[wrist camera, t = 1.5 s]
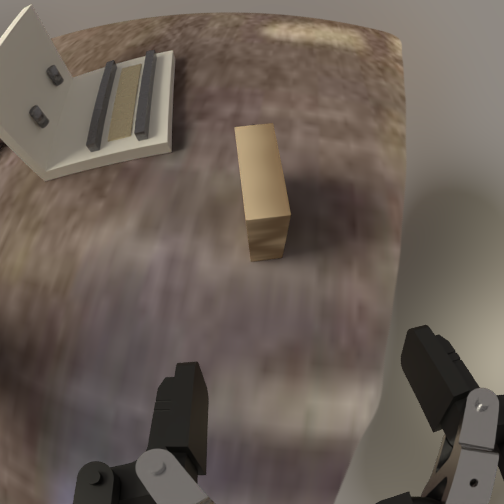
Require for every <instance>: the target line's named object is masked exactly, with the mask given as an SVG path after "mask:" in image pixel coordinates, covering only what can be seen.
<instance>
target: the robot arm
mask: <svg viewBox="0 0 504 504" xmlns="http://www.w3.org/2000/svg"><path fill="white" fill-rule="evenodd" d="M401 366H402V369H403V371H404V373H405V375H406V377H407V379H408V381H409V383H410V385H411V387H412V389H413V391H414V393H415V395H416V397H417V399H418V401H419V403H420V405H421V408H422V410H423V412H424V414H425V416H426V418H427V420H428V422H429V424H430V427H431V428H432V431H433V432H436V431H439V430H441V429H443V430H444V433H445V435H444V436H443V439H442V442H441V446H440V449H439V453H438V456H437V459H436V462H435V466H434V469H433V472H432V475H431V477H430V479H429V481H428V483H427V485H426V486H425V488H424V490H423V492H422V495H421V497H411V496H410V493H409V492H406V493H403V494H400V495H397V496H394V497H391V498H388V499H385V500H382V501H379V502H378V503H376V504H489V502H490V498H491V494H492V490H493V485H494V481H495V476H496V471H497V466H498V467H499V469H500V472H501V475H502V477H503V479H504V395H495V393H494V392H492V391H491V390H489V389H486V388H480V387H479V386H478V384H477V383H476V381H475V380H474V378H473V376H472V375H471V373H470V372H469V370H468V369H467V367H466V366H465V364H464V363H463V361H462V360H460V357H459V355H458V354H457V353H455V350H454V348H453V347H452V346H451V344H450V342H449V341H447V340H446V339H445V338H443V337H441V336H440V335H436V336H435V335H434V333H433V332H432V330H431V329H430V328H429V327H428V326H427V325H423V326H419V327H415V328H411V329H409V330H408V331H407V335H406V339H405V343H404V347H403V350H402V354H401ZM207 427H208V391H207V387H206V384H205V381H204V378H203V375H202V372H201V369H200V366H199V363H198V362H186V363H177V365H176V371H175V377H166V378H165V379H164V380H163V382H162V383H161V385H160V386H159V388H158V391H157V396H156V402H155V407H154V413H153V419H152V425H151V430H150V436H149V443H148V447H147V450H146V452H144V453H143V454H142V455H141V456H140V457H139V458H138V460H136V461H135V462H132V463H129V464H125V465H120V466H115V467H109V466H108V465H106V464H105V463H102V462H98V461H95V462H90V463H88V464H86V465H84V466H83V467H82V468H81V470H80V471H79V473H78V477H77V482H76V488H75V494H74V500H73V504H215V503H214V502H213V501H212V500H211V499H210V498H209V497H208V496H207V495H206V494H205V493H204V491H203V490H202V489H201V488H200V487H199V486H198V485H197V477H198V475H206V458H207Z"/></svg>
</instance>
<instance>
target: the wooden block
mask: <svg viewBox="0 0 504 504" xmlns="http://www.w3.org/2000/svg"><path fill="white" fill-rule="evenodd" d="M235 135H236V143H237V152H238V160H239V168H240V177H241V185H242V193H243V201H244V210H245V218H246V226H247V234H248V242H249V250H250V259H251V262H253V261H261V260H269V259H277V258H282V256H283V251H284V247H285V242H286V237H287V232H288V227H289V222H290V217H291V213H290V207H289V202H288V196H287V191H286V186H285V180H284V175H283V170H282V165H281V160H280V155H279V150H278V145H277V140H276V135H275V131H274V126H273V123H271V124H260V125H250V126H242V127H235Z"/></svg>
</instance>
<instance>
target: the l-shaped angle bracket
mask: <svg viewBox="0 0 504 504" xmlns="http://www.w3.org/2000/svg"><path fill="white" fill-rule="evenodd" d="M174 74H175V57H174V53H173V50H172V51H167V52H162V53H157V54H156V53H155V50H151V51H147V52H146V56H144V57H140V58H136V59H132V60H129V61H125V62H121V63H118V64H116V63H115V61H114V60H113V61H110V62H107V63H106V66H105V67H104V68H101V69H98V70H95V71H92V72H88V73H86V74H83V75H80V76H77V77H74V78H73V77H72V75H71V74H70V72H69V70H68V68H67V67H66V65H65V63H64V62H63V60H62V58H61V56H60V55H59V53H58V51H57V49H56V47H55V46H54V44H53V42H52V40H51V39H50V37H49V35H48V33H47V31H46V29H45V28H44V26H43V24H42V22H41V20H40V18H39V17H38V15H37V13H36V11H35V9H34V7H33V5H32V4H31V5H29V6H28V7H25V8H24V9H23V10H22V11H21V12H20V13H19V15H18V16H17V17H16V18H15V20H14V21H13V22H12V23H11V25H10V26H9V27H8V29H7V30H6V31H5V33H4V34H3V35H2V37H1V38H0V139H1V140H2V141H3V142H4V143H5V144H6V145H7V146H8V147H9V148H10V149H11V150H12V151H13V152H14V153H15V154H16V155H18V156H19V157H20V158H21V159H22V160H23V161H24V162H25V163H26V164H27V165H28V166H29V167H30V168H31V169H32V170H33V171H34V172H35V173H36V174H37V175H39V176H40V177H41V178H42V179H43V180H44V181H48V180H52V179H55V178H59V177H63V176H66V175H70V174H74V173H78V172H82V171H85V170H89V169H94V168H98V167H102V166H106V165H111V164H115V163H119V162H124V161H129V160H134V159H138V158H143V157H148V156H154V155H159V154H165V153H170V152H172V114H173V91H174Z"/></svg>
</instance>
